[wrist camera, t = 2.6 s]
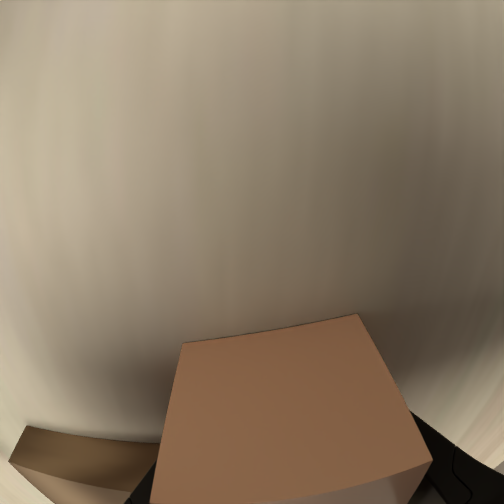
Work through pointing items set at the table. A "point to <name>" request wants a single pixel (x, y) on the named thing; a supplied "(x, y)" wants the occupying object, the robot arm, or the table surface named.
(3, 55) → the table surface
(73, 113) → the table surface
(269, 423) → the terracotta cube
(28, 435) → the walnut slab
